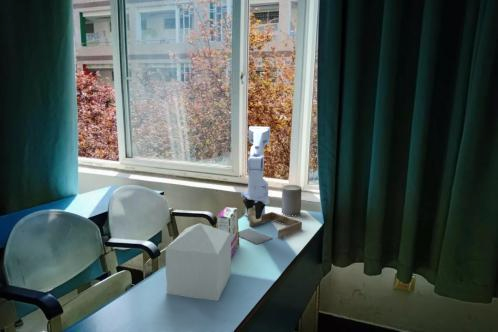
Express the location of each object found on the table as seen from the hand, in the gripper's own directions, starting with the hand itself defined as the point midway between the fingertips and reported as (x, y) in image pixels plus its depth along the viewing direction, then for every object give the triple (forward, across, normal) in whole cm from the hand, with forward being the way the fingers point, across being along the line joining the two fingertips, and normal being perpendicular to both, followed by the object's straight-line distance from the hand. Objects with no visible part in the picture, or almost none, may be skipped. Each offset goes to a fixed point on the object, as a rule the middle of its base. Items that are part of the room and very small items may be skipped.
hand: (254, 217), depth 145 cm
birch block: (+2, 0, 0) cm, 2 cm away
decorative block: (+9, +15, -39) cm, 43 cm away
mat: (+8, 0, -1) cm, 8 cm away
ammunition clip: (+9, -3, -12) cm, 15 cm away
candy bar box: (+9, +5, -19) cm, 22 cm away
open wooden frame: (+8, 0, +14) cm, 16 cm away
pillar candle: (+9, -8, +35) cm, 37 cm away
